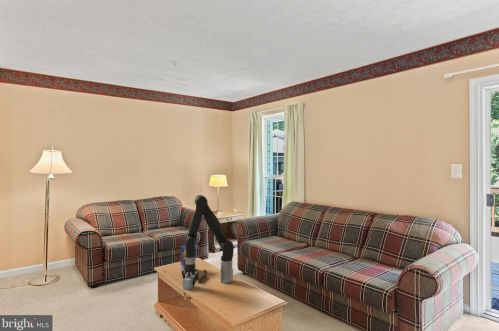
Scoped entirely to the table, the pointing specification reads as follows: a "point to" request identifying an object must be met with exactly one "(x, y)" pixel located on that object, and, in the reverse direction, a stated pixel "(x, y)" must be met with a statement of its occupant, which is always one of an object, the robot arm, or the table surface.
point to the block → (188, 283)
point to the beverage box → (184, 257)
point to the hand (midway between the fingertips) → (190, 284)
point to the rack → (201, 276)
